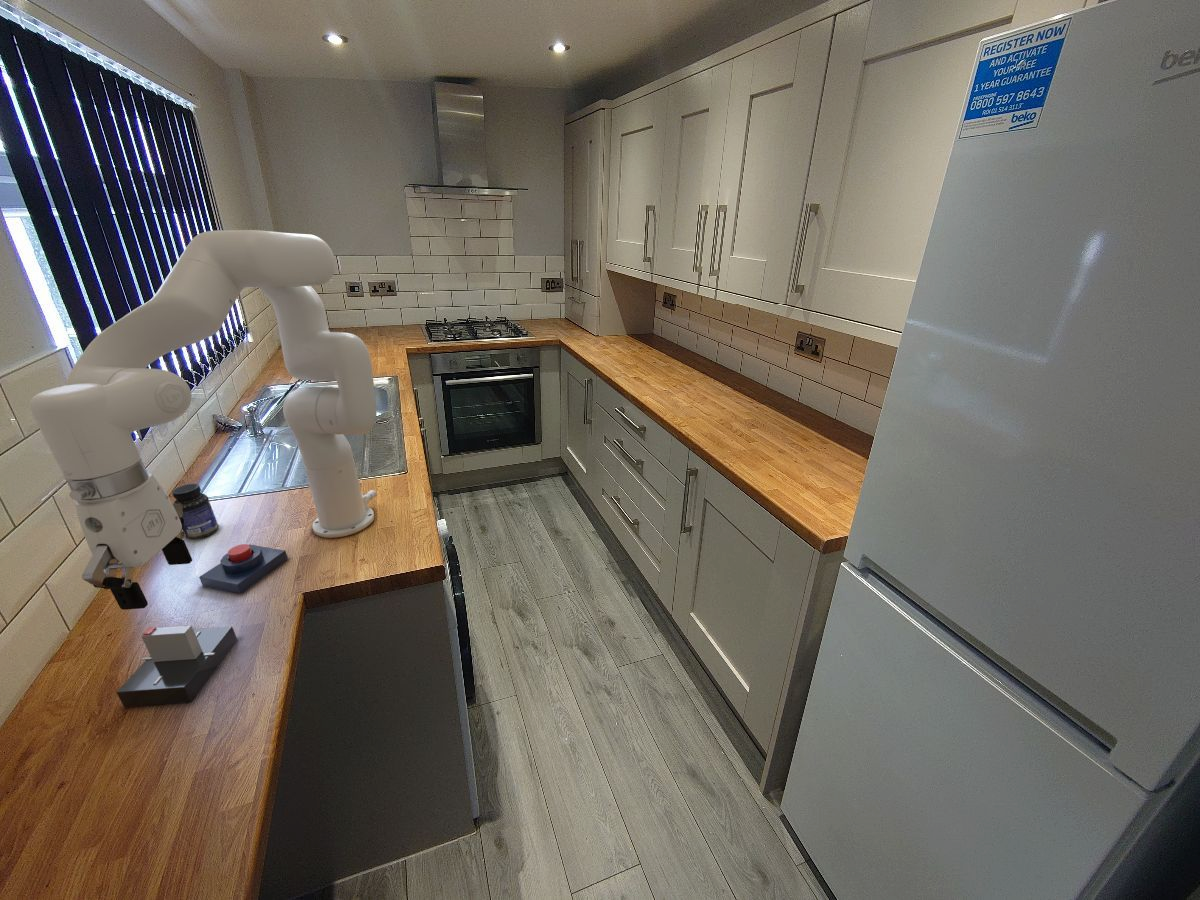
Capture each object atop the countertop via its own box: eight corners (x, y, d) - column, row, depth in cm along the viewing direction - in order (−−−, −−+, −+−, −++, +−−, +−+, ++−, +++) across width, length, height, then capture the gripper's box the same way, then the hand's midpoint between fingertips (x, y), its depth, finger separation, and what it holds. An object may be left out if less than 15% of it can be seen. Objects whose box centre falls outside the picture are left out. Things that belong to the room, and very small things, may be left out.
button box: (252, 553, 108) (246, 536, 106) (288, 559, 105) (283, 542, 104) (202, 586, 98) (195, 569, 96) (240, 594, 96) (234, 576, 94)
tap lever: (202, 651, 79) (191, 623, 77) (196, 659, 77) (184, 631, 75) (160, 654, 79) (148, 626, 76) (153, 662, 77) (140, 634, 75)
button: (242, 550, 102) (239, 542, 101) (256, 553, 101) (254, 545, 101) (225, 561, 99) (222, 553, 98) (240, 563, 98) (238, 556, 97)
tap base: (176, 644, 84) (169, 629, 83) (241, 640, 85) (236, 625, 84) (119, 708, 73) (110, 691, 72) (195, 702, 74) (188, 686, 73)
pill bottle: (226, 527, 117) (210, 483, 112) (199, 542, 111) (181, 497, 107) (205, 523, 119) (189, 480, 114) (178, 538, 113) (160, 493, 109)
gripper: (87, 512, 61) (144, 625, 68) (182, 449, 76) (220, 547, 83) (17, 516, 60) (83, 630, 67) (127, 452, 76) (171, 550, 83)
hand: (159, 584), depth 75 cm, fingers open, 9 cm apart
